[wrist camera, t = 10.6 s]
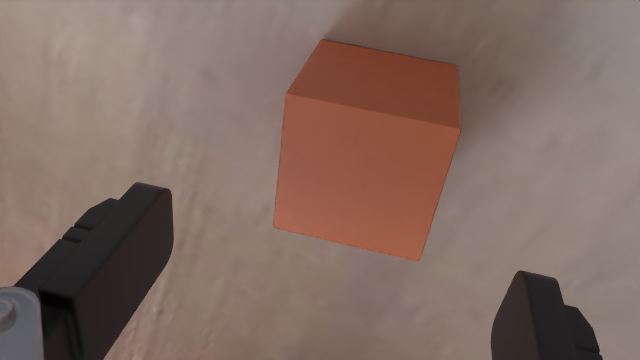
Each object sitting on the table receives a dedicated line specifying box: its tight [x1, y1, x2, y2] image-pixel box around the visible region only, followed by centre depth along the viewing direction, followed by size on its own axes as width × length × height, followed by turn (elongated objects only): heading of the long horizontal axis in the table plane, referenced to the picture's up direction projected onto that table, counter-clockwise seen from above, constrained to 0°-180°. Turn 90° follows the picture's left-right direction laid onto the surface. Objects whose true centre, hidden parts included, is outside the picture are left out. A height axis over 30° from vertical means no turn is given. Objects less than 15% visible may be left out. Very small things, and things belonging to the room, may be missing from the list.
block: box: [273, 40, 461, 261], centre depth 16 cm, size 5×5×5 cm
